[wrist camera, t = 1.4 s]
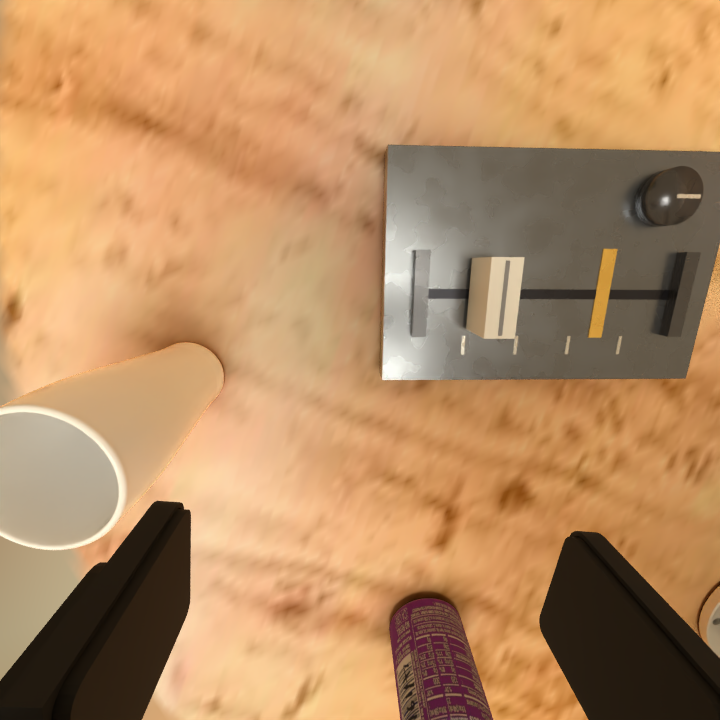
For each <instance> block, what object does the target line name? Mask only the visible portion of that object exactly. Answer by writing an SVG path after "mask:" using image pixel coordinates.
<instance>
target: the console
mask: <svg viewBox="0 0 720 720" xmlns="http://www.w3.org/2000/svg"><path fill="white" fill-rule="evenodd" d="M719 244H720V152H702V151H654V150H607V149H559V148H512V147H464V146H417V145H388V146H387V149H386V152H385V165H384V210H383V254H382V298H381V342H380V375H381V378H382V380H486V379H681V378H686V375H687V371H688V367H689V363H690V359H691V355H692V351H693V347H694V343H695V339H696V335H697V331H698V327H699V323H700V319H701V315H702V311H703V307H704V303H705V299H706V296H707V292H708V288H709V284H710V280H711V276H712V272H713V268H714V264H715V260H716V256H717V252H718V248H719ZM480 257H525V258H524V266H523V274H522V283H521V291H520V299H519V308H518V316H517V324H516V333H515V339H483V338H482V337H480V336H478V335H476V334H474V333H472V332H470V331H469V330H467V329H466V324H467V312H468V300H469V288H470V277H471V265H472V258H480Z"/></svg>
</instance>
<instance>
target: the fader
mask: <svg viewBox="0 0 720 720" xmlns="http://www.w3.org/2000/svg"><path fill="white" fill-rule="evenodd" d="M524 258H525V257H480V258H472V265H471V277H470V288H469V300H468V312H467V324H466V329H467V330H469V331H470V332H472V333H474V334H476V335H478V336H480V337H482V338H483V339H515V333H516V324H517V316H518V308H519V299H520V291H521V283H522V274H523V266H524Z"/></svg>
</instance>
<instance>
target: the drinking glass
mask: <svg viewBox="0 0 720 720" xmlns="http://www.w3.org/2000/svg"><path fill="white" fill-rule="evenodd" d="M223 383H224V372H223V368H222V365H221V363H220V361H219V360H218V358H217V357H216V356H215V355H214V354H213V353H212V352H211V351H210V350H209V349H207V348H205V347H204V346H201V345H199V344H195V343H190V342H182V343H176V344H173V345H170V346H168V347H166V348H164V349H161V350H158V351H155V352H151V353H148V354H145V355H141V356H138V357H134V358H131V359H128V360H124V361H121V362H117V363H114V364H110V365H106V366H103V367H99V368H96V369H93V370H89V371H86V372H83V373H80V374H76V375H73V376H70V377H67V378H65V379H62V380H59V381H56V382H54V383H51V384H49V385H46V386H44V387H41V388H39V389H37V390H35V391H32V392H30V393H28V394H25V395H23V396H21V397H19V398H17V399H14V400H12V401H10V402H8V403H6V404H4V405H2V406H0V536H2V537H4V538H6V539H8V540H10V541H13V542H15V543H18V544H21V545H24V546H28V547H32V548H37V549H45V550H65V549H72V548H77V547H81V546H84V545H87V544H89V543H92V542H93V541H95V540H97V539H99V538H101V537H102V536H104V535H105V534H106V533H107V532H109V531H110V530H111V529H112V528H113V527H114V526H115V525H116V523H117V522H118V521H119V520H120V519H121V518H122V517H123V516H124V515H125V514H126V513H127V512H128V511H129V510H130V509H131V508H132V507H133V506H134V505H135V504H136V503H137V502H138V501H139V500H140V499H141V498H142V497H143V495H144V494H145V493H146V492H147V491H148V490H149V489H150V488H151V486H152V485H153V484H154V483H155V482H156V480H157V479H158V478H159V477H160V475H161V474H162V473H163V471H164V470H165V469H166V467H167V466H168V465H169V463H170V462H171V461H172V459H173V458H174V456H175V455H176V453H177V452H178V450H179V449H180V447H181V446H182V444H183V443H184V442H185V440H186V439H187V437H188V436H189V434H190V433H191V431H192V430H193V428H194V427H195V425H196V424H197V422H198V421H199V420H200V418H201V417H202V415H203V414H204V412H205V411H206V410H207V408H208V407H209V405H210V404H211V403H212V402H213V401H214V400H215V399H216V398H217V396H218V395H219V393H220V392H221V390H222V387H223Z"/></svg>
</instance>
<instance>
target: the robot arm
mask: <svg viewBox="0 0 720 720" xmlns="http://www.w3.org/2000/svg"><path fill="white" fill-rule="evenodd" d="M190 549H191V513H190V510H184V506H183V504H182V503H180V502H166V501H156V502H154V503H153V504H152V505H151V506H150V508H149V509H148V510H147V512H146V513H145V514H144V516H143V517H142V518H141V519H140V521H139V522H138V523H137V525H136V526H135V527H134V528H133V530H132V531H131V532H130V534H129V535H128V536H127V538H126V539H125V540H124V541H123V543H122V544H121V545H120V547H119V548H118V549H117V551H116V552H115V553H114V554H113V556H112V557H111V558H110V560H109V561H108V562H107V563H101V562H100V563H98V564H97V565H95V566H94V567H93V568H92V569H91V570H90V571H89V572H88V573H87V574H86V575H85V577H84V578H83V579H82V580H81V582H80V583H79V584H78V585H77V587H76V588H75V589H74V590H73V592H72V593H71V594H70V595H69V596H68V598H67V599H66V600H65V601H64V603H63V604H62V605H61V606H60V608H59V609H58V610H57V611H56V613H55V614H54V615H53V616H52V618H51V619H50V620H49V621H48V622H47V624H46V625H45V626H44V628H43V629H42V630H41V631H40V632H39V634H38V635H37V636H36V637H35V639H34V640H33V641H32V642H31V643H30V645H29V646H28V647H27V648H26V650H25V651H24V652H23V654H22V655H21V656H20V657H19V658H18V660H17V661H16V662H15V663H14V665H13V666H12V667H11V668H10V670H9V671H8V672H7V673H6V675H5V676H4V677H3V678H2V679H1V681H0V720H142V718H143V715H144V713H145V711H146V709H147V706H148V704H149V702H150V699H151V697H152V695H153V693H154V690H155V688H156V686H157V683H158V681H159V679H160V676H161V674H162V672H163V669H164V667H165V665H166V662H167V660H168V658H169V655H170V653H171V651H172V649H173V646H174V644H175V642H176V639H177V637H178V635H179V632H180V630H181V628H182V625H183V623H184V621H185V618H186V616H187V613H188V609H189V604H190ZM539 621H540V628H541V632H542V634H543V636H544V638H545V640H546V642H547V644H548V645H549V647H550V649H551V651H552V653H553V655H554V656H555V658H556V660H557V662H558V664H559V666H560V668H561V669H562V671H563V673H564V675H565V677H566V679H567V681H568V682H569V684H570V686H571V688H572V690H573V692H574V693H575V695H576V697H577V699H578V701H579V703H580V705H581V706H582V708H583V710H584V712H585V714H586V716H587V717H588V719H589V720H720V586H718V587H717V588H716V589H715V590H714V592H713V593H712V594H711V595H710V596H709V598H708V599H707V601H706V603H705V604H704V606H703V609H702V611H701V614H700V619H699V630H700V635H701V637H702V639H701V638H700V637H699V636H698V635H697V634H696V633H695V632H694V631H693V630H692V628H691V627H690V626H689V625H688V624H687V623H686V622H685V621H684V620H683V619H682V618H681V617H680V616H679V615H678V614H677V613H676V612H675V611H674V610H673V609H672V608H671V606H670V605H669V604H668V603H667V602H666V601H665V600H664V599H663V598H662V597H661V596H660V595H659V594H658V593H657V592H656V591H655V590H654V589H653V588H652V587H651V586H650V584H649V583H648V582H647V581H646V580H645V579H644V578H643V577H642V576H641V575H640V574H639V573H638V572H637V571H636V570H635V569H634V568H633V567H632V566H631V565H630V563H629V562H628V561H627V560H626V559H625V558H624V557H623V556H622V555H621V554H620V553H619V552H618V551H617V550H616V549H615V548H614V547H613V546H612V545H611V544H610V543H609V541H608V540H607V539H606V538H605V537H604V536H602V535H601V534H599V533H596V532H582V531H574V532H573V533H571V535H570V537H567V538H566V539H565V541H564V544H563V547H562V550H561V553H560V556H559V560H558V563H557V566H556V569H555V572H554V575H553V578H552V581H551V584H550V587H549V590H548V593H547V596H546V599H545V602H544V605H543V608H542V611H541V614H540V619H539Z"/></svg>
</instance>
